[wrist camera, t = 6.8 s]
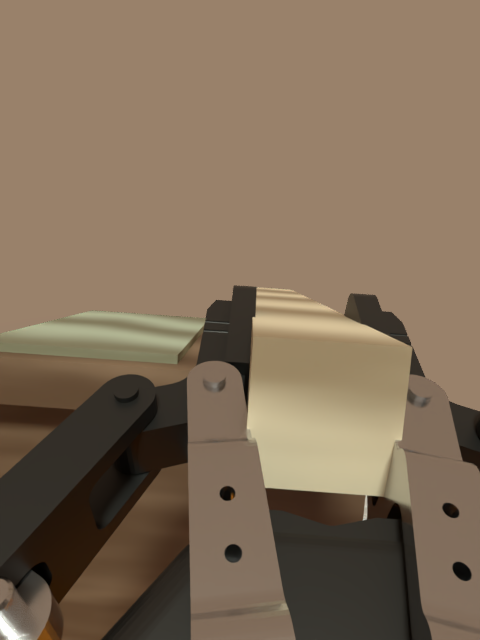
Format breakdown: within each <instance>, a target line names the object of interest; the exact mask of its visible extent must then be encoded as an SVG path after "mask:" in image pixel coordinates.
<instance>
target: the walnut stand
mask: <svg viewBox="0 0 480 640" xmlns="http://www.w3.org/2000/svg"><path fill="white" fill-rule="evenodd" d="M205 319H206V318H193V317H179V316H164V315H163V316H162V315H149V314H135V313H119V312H106V311H89V312H85V313H81V314H77V315H73V316H69V317H65V318H61V319H57V320H53V321H49V322H45V323H41V324H37V325H33V326H29V327H25V328H21V329H17V330H13V331H9V332H5V333H1V334H0V478H1V477H2V476H3V475H4V474H5V473H7V472H8V471H9V470H10V469H11V468H12V467H13V466H14V465H15V464H16V463H18V462H19V461H20V460H21V459H22V458H23V457H24V456H25V455H26V454H28V453H29V452H30V451H31V450H32V449H33V448H34V447H35V446H36V445H37V444H39V443H40V442H41V441H42V440H43V439H44V438H45V437H46V436H47V435H48V434H50V433H51V432H52V431H53V430H54V429H55V428H56V427H57V426H58V425H59V424H61V423H62V422H63V421H64V420H65V419H66V418H67V417H68V416H69V415H71V414H72V413H73V412H74V411H75V410H76V409H77V408H78V407H79V406H80V405H82V404H83V403H84V402H85V401H86V400H87V399H88V398H89V397H90V396H91V395H93V394H94V393H95V392H96V391H97V390H98V389H99V388H100V387H101V386H102V385H104V384H105V383H106V382H107V381H109V380H111V379H113V378H115V377H117V376H121V375H126V374H136V375H141V376H144V377H146V378H148V379H149V380H150V381H151V382H152V383H153V384H154V386H155V387H157V386H163V385H168V384H173V383H176V382H179V381H181V380H183V379H185V378H186V377H188V374H189V372H190V371H191V370H192V369H193V368H194V367H195V366H196V364H197V359H198V354H199V349H200V344H201V339H202V334H203V329H204V324H205ZM265 490H266V496H267V502H268V507H269V510H281V511H285V512H288V513H291V514H294V515H297V516H301V517H304V518H307V519H310V520H313V521H316V522H319V523H322V524H325V525H328V526H337V525H342V524H347V523H352V522H357V521H362V520H363V515H364V506H365V497H366V495H355V494H342V493H328V492H315V491H302V490H289V489H275V488H265ZM188 544H189V489H188V463H184V464H180V465H176V466H171V467H167V468H162V469H161V471H160V472H159V474H158V475H157V477H156V478H155V479H154V480H153V482H152V483H151V484H150V486H149V487H148V488H147V490H146V491H145V492H144V494H143V495H142V496H141V497H140V499H139V500H138V501H137V503H136V504H135V505H134V507H133V508H132V509H131V511H130V512H129V513H128V514H127V516H126V517H125V518H124V520H123V521H122V522H121V524H120V525H119V526H118V527H117V529H116V530H115V531H114V533H113V534H112V535H111V537H110V538H109V539H108V541H107V542H106V543H105V544H104V546H103V547H102V548H101V550H100V551H99V552H98V554H97V555H96V556H95V558H94V559H93V560H92V561H91V563H90V564H89V565H88V567H87V568H86V569H85V571H84V572H83V573H82V575H81V576H80V577H79V578H78V580H77V581H76V582H75V584H74V585H73V586H72V588H71V589H70V590H69V592H68V593H67V594H66V595H65V597H64V598H63V599H62V601H61V602H60V603H59V606H60V608H61V611H62V614H63V619H64V628H63V635H62V638H61V640H101V639H102V638H103V637H104V636H105V635H106V634H107V632H108V631H109V630H110V629H111V628H112V627H113V626H114V625H115V624H116V623H117V621H118V620H119V619H120V618H121V617H122V616H123V615H124V614H125V613H126V612H127V610H128V609H129V608H130V607H131V606H132V605H133V604H134V603H135V602H136V600H137V599H138V598H139V597H140V596H141V595H142V594H143V593H144V592H145V591H146V589H147V588H148V587H149V586H150V585H151V584H152V583H153V582H154V581H155V580H156V578H157V577H158V576H159V575H160V574H161V573H162V572H163V571H164V570H165V569H166V567H167V566H168V565H169V564H170V563H171V562H172V561H173V560H174V559H175V558H176V556H177V555H178V554H179V553H180V552H181V551H182V550H183V549H184V548H185V547H186V546H187V545H188Z"/></svg>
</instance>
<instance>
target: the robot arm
mask: <svg viewBox="0 0 480 640" xmlns="http://www.w3.org/2000/svg"><path fill="white" fill-rule="evenodd" d="M256 292H257V287H249V286H234V288H233V296H232V301H222V300H216V301H215V302H214V303H213V304H212V305H211V306H210V307H209V308H208V309H207V314H206V319H205V324H204V329H203V334H202V339H201V344H200V349H199V354H198V359H197V364H196V366H195V367H194V368H193V369H192V370H191V371H190V372H189V374H188V377H186V378H185V379H183V380H181V381H179V382H176V383H173V384H168V385H163V386H157V387H155V386H154V384H153V383H152V382H151V381H150V380H149V379H148V378H146V377H144V376H141V375H136V374H126V375H121V376H117V377H115V378H113V379H111V380H109V381H107V382H106V383H105V384H104V385H102V386H101V387H100V388H99V389H98V390H97V391H96V392H95V393H94V394H93V395H91V396H90V397H89V398H88V399H87V400H86V401H85V402H84V403H83V404H82V405H80V406H79V407H78V408H77V409H76V410H75V411H74V412H73V413H72V414H71V415H69V416H68V417H67V418H66V419H65V420H64V421H63V422H62V423H61V424H59V425H58V426H57V427H56V428H55V429H54V430H53V431H52V432H51V433H50V434H48V435H47V436H46V437H45V438H44V439H43V440H42V441H41V442H40V443H39V444H37V445H36V446H35V447H34V448H33V449H32V450H31V451H30V452H29V453H28V454H26V455H25V456H24V457H23V458H22V459H21V460H20V461H19V462H18V463H16V464H15V465H14V466H13V467H12V468H11V469H10V470H9V471H8V472H7V473H5V474H4V475H3V476H2V477H1V478H0V640H61V638H62V635H63V628H64V619H63V614H62V611H61V608H60V606H59V603H60V602H61V601H62V599H63V598H64V597H65V595H66V594H67V593H68V592H69V590H70V589H71V588H72V586H73V585H74V584H75V582H76V581H77V580H78V578H79V577H80V576H81V575H82V573H83V572H84V571H85V569H86V568H87V567H88V565H89V564H90V563H91V561H92V560H93V559H94V558H95V556H96V555H97V554H98V552H99V551H100V550H101V548H102V547H103V546H104V544H105V543H106V542H107V541H108V539H109V538H110V537H111V535H112V534H113V533H114V531H115V530H116V529H117V527H118V526H119V525H120V524H121V522H122V521H123V520H124V518H125V517H126V516H127V514H128V513H129V512H130V511H131V509H132V508H133V507H134V505H135V504H136V503H137V501H138V500H139V499H140V497H141V496H142V495H143V494H144V492H145V491H146V490H147V488H148V487H149V486H150V484H151V483H152V482H153V480H154V479H155V478H156V477H157V475H158V474H159V472H160V471H161V469H162V468H167V467H171V466H176V465H180V464H184V463H188V489H189V544H188V545H187V546H186V547H185V548H184V549H183V550H182V551H181V552H180V553H179V554H178V555H177V556H176V558H175V559H174V560H173V561H172V562H171V563H170V564H169V565H168V566H167V567H166V569H165V570H164V571H163V572H162V573H161V574H160V575H159V576H158V577H157V578H156V580H155V581H154V582H153V583H152V584H151V585H150V586H149V587H148V588H147V589H146V591H145V592H144V593H143V594H142V595H141V596H140V597H139V598H138V599H137V600H136V602H135V603H134V604H133V605H132V606H131V607H130V608H129V609H128V610H127V612H126V613H125V614H124V615H123V616H122V617H121V618H120V619H119V620H118V621H117V623H116V624H115V625H114V626H113V627H112V628H111V629H110V630H109V631H108V632H107V634H106V635H105V636H104V637H103V638H102V639H101V640H480V411H477V410H473V409H470V408H466V407H463V406H460V405H457V404H455V403H452V402H450V401H449V400H448V397H447V395H446V393H445V392H444V390H443V389H442V388H441V387H440V386H439V385H437V384H436V383H435V382H433V381H431V380H429V379H427V378H425V376H424V373H423V371H422V368H421V366H420V363H419V361H418V359H417V356H416V354H415V352H414V349H413V348H412V356H411V365H410V374H409V382H408V391H407V400H406V408H405V417H404V426H403V434H402V440H395V443H394V448H393V453H392V458H391V463H390V468H389V472H388V477H387V482H386V487H385V492H384V497H382V496H368V495H367V520H362V521H357V522H352V523H347V524H342V525H337V526H328V525H325V524H322V523H319V522H316V521H313V520H310V519H307V518H304V517H301V516H297V515H294V514H291V513H288V512H285V511H281V510H269V507H268V502H267V496H266V490H265V485H264V479H263V473H262V468H261V462H260V456H259V451H258V445H257V441H256V439H255V438H252V436H251V431H250V429H247V415H248V413H247V396H248V384H249V371H250V356H251V337H252V318H253V317H255V315H256ZM344 316H346V317H348V318H350V319H352V320H354V321H356V322H358V323H360V324H363V325H367V326H369V327H371V328H373V329H375V330H377V331H379V332H381V333H384V334H386V335H388V336H390V337H392V338H394V339H396V340H398V341H400V342H403V343H405V344H407V345H409V346H411V342H410V340H409V337H407V333H406V330H405V328H404V325H403V323H402V322H401V321H400V320H399V319H398V318H397V317H396V316H395V315H394V314H393V313H392V312H383V311H382V310H381V308H380V305H379V302H378V299H377V297H376V296H375V295H366V294H350V296H349V298H348V302H347V306H346V310H345V314H344ZM411 347H412V346H411Z"/></svg>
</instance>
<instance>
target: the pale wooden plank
mask: <svg viewBox="0 0 480 640" xmlns="http://www.w3.org/2000/svg"><path fill="white" fill-rule="evenodd" d="M412 348H413V347H411V346H409V345H407V344H405V343H403V342H400V341H398V340H396V339H394V338H392V337H390V336H388V335H386V334H384V333H381V332H379V331H377V330H375V329H373V328H371V327H369V326H367V325H363V324H360V323H358V322H356V321H354V320H352V319H350V318H348V317H346V316H344V315H343V314H341V313H339V312H337V311H335V310H333V309H331V308H329V307H326V306H324V305H322V304H320V303H318V302H316V301H314V300H312V299H310V298H307V297H305V296H303V295H301V294H299V293H297V292H295V291H293V290H287V289H272V288H257V292H256V315H255V317H253V318H252V337H251V356H250V371H249V384H248V396H247V413H248V415H247V429H250V431H251V436H252V438H255V439H256V441H257V445H258V451H259V456H260V462H261V468H262V473H263V479H264V485H265V488H275V489H289V490H302V491H315V492H328V493H342V494H355V495H368V496H382V497H384V492H385V487H386V482H387V477H388V472H389V468H390V463H391V458H392V453H393V448H394V443H395V440H402V434H403V426H404V417H405V408H406V400H407V391H408V382H409V374H410V365H411V356H412Z"/></svg>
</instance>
